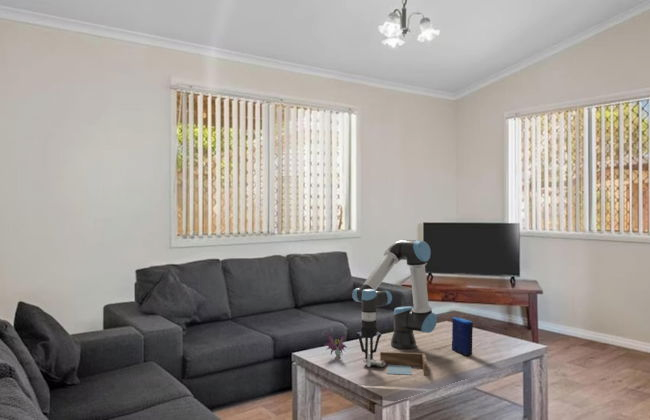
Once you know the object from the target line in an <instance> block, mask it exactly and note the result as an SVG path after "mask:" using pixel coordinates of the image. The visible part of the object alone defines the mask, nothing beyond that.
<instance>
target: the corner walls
mask: <svg viewBox="0 0 650 420" xmlns="http://www.w3.org/2000/svg"><path fill="white" fill-rule="evenodd" d="M379 355H380V356H379V357H380V358H379V361H381V360H384V362H385V363H386V365H404V366H422V372H423V376H425V377H427V376H428V360H427V356H426V353H424V352H423V353H422V352H421V353H420V352H402V351H401V352H397V351H380V353H379Z"/></svg>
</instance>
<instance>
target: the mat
mask: <svg viewBox="0 0 650 420" xmlns="http://www.w3.org/2000/svg"><path fill="white" fill-rule="evenodd" d="M387 375H402V376H412V375H413V374H412V365H400V364H387Z"/></svg>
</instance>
